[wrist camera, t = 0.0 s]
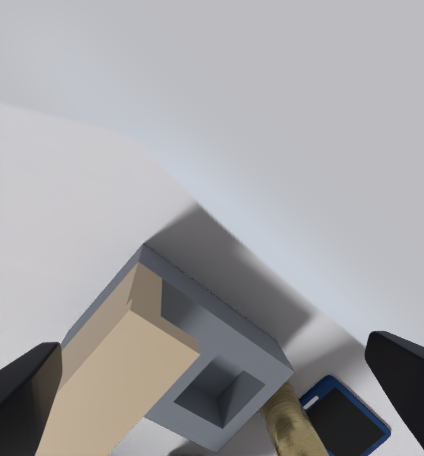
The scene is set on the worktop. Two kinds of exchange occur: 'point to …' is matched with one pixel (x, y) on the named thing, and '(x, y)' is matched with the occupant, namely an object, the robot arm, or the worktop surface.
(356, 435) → the cell phone
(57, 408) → the socket block
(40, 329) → the worktop surface
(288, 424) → the peg
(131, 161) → the worktop surface
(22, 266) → the worktop surface
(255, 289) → the worktop surface
